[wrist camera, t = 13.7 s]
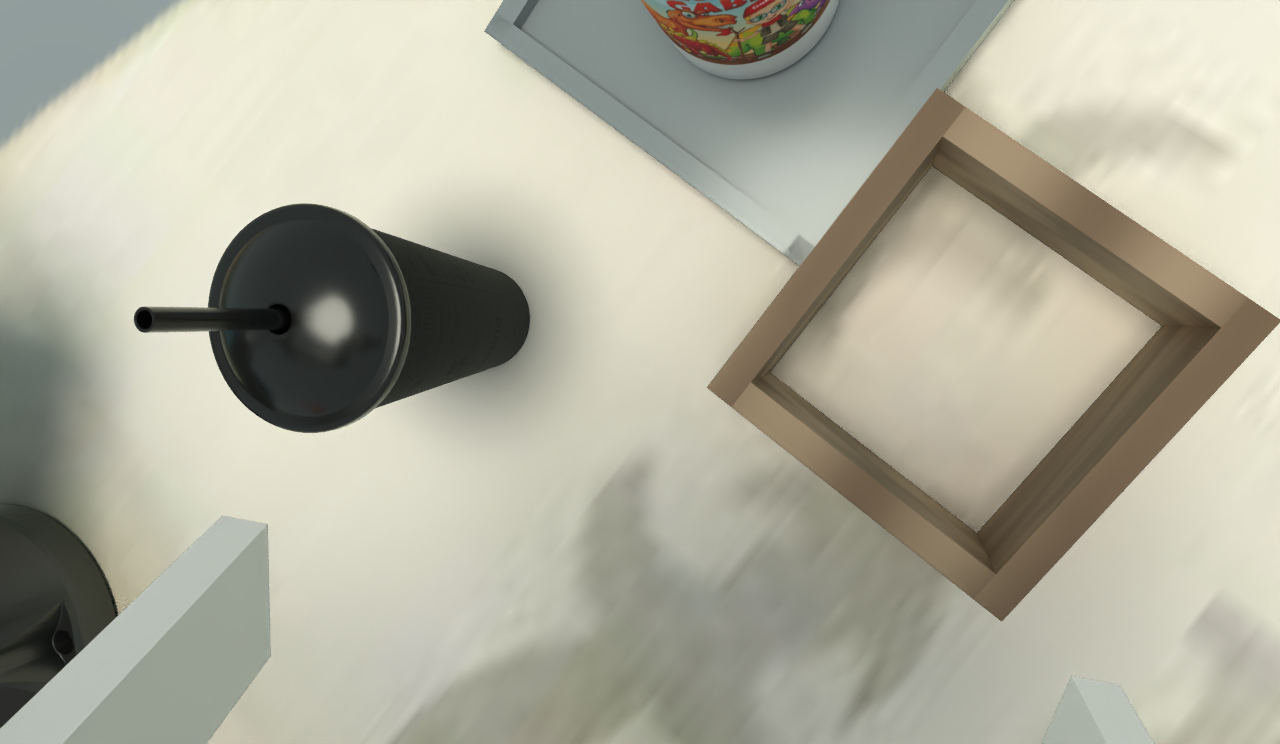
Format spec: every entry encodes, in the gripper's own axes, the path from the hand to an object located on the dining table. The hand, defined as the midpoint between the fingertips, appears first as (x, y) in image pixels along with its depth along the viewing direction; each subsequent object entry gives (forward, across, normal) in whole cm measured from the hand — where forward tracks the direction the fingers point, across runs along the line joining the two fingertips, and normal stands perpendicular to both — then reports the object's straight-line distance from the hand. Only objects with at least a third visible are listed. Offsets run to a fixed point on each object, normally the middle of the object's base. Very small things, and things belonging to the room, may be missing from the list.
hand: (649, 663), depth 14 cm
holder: (+24, +11, -1) cm, 26 cm away
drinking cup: (+28, -10, -5) cm, 30 cm away
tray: (+30, 0, +11) cm, 32 cm away
